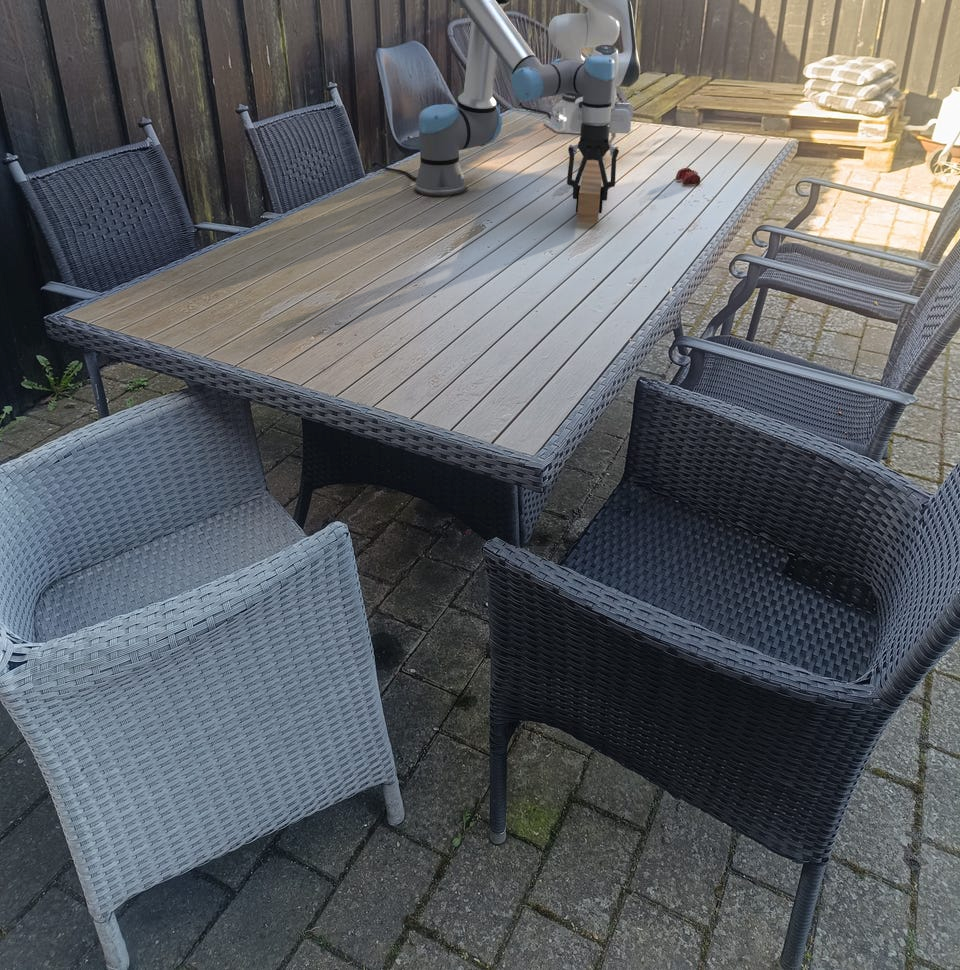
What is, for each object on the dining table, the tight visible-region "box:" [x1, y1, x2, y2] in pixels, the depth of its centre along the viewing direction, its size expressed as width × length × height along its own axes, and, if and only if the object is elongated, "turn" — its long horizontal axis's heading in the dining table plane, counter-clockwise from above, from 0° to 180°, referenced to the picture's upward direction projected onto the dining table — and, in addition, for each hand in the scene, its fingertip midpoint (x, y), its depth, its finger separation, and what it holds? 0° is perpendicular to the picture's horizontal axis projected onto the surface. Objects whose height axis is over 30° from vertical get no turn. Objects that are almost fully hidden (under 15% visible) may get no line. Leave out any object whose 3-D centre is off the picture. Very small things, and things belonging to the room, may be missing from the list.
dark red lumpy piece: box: [675, 167, 701, 186], centre depth 263 cm, size 6×4×8 cm
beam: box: [576, 151, 608, 224], centre depth 257 cm, size 78×6×8 cm, turn 171°
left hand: (588, 211), depth 234 cm, fingers closed on beam, 6 cm apart
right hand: (598, 146), depth 283 cm, fingers closed on beam, 5 cm apart
